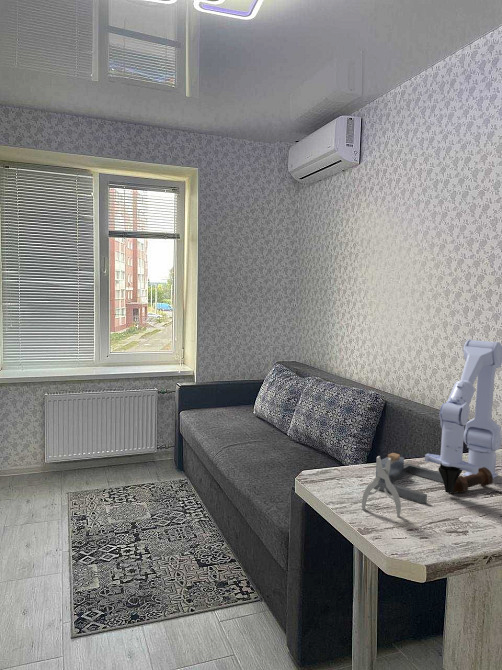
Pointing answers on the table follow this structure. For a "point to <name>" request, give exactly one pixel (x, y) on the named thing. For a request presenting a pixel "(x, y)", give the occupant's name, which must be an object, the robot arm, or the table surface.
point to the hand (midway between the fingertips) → (449, 491)
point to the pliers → (384, 475)
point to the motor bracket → (401, 470)
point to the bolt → (473, 480)
